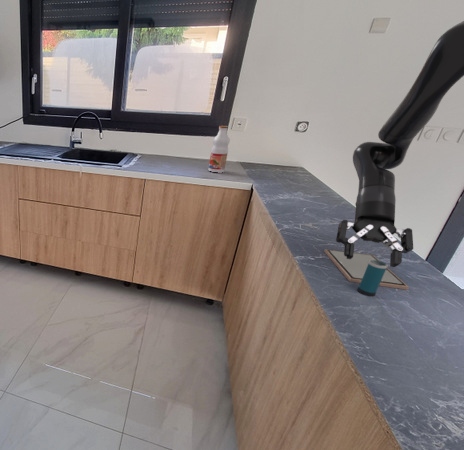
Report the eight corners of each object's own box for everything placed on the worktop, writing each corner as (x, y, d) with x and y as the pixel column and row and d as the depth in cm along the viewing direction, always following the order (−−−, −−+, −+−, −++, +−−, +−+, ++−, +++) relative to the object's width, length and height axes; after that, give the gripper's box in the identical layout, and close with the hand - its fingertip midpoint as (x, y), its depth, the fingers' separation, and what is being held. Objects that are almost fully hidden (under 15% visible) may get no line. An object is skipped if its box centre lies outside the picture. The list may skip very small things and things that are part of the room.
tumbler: (370, 289, 79) (383, 260, 76) (377, 297, 76) (391, 267, 73) (354, 287, 80) (366, 258, 77) (361, 294, 77) (373, 265, 74)
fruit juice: (226, 173, 193) (235, 126, 182) (210, 173, 194) (218, 126, 183) (220, 169, 202) (228, 125, 191) (205, 170, 203) (212, 125, 192)
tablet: (371, 257, 94) (373, 254, 94) (407, 289, 79) (409, 286, 78) (324, 251, 98) (325, 248, 98) (349, 281, 83) (350, 278, 82)
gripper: (346, 196, 84) (341, 251, 79) (420, 203, 77) (419, 264, 72) (336, 208, 90) (330, 260, 85) (403, 216, 83) (401, 273, 79)
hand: (371, 262), depth 79 cm, fingers open, 8 cm apart
